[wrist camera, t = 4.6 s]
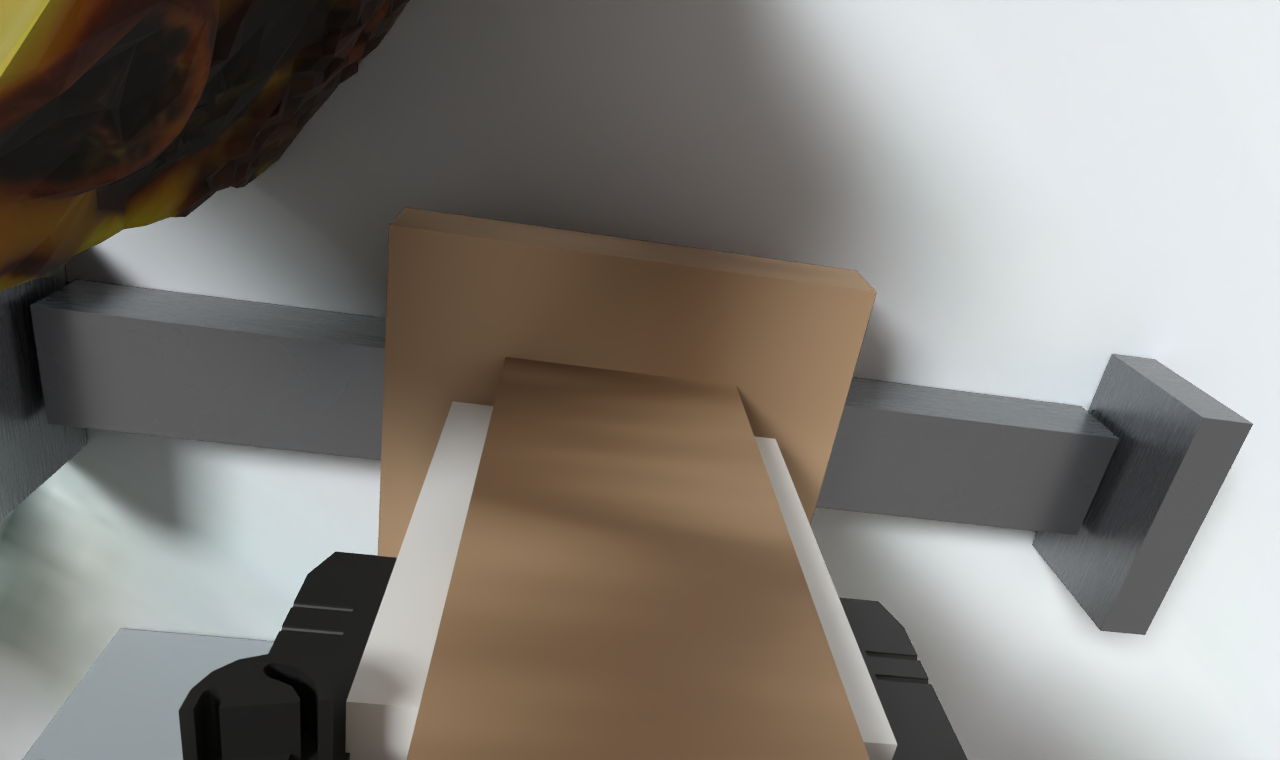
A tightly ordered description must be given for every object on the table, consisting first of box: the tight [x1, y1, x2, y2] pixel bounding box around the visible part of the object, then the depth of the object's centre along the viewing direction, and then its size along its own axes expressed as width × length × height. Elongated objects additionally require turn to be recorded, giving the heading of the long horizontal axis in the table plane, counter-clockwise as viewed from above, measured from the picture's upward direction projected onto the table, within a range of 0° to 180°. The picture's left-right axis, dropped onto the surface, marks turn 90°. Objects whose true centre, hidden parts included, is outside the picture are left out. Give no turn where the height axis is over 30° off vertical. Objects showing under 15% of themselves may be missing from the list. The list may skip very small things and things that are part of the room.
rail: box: [0, 266, 1253, 635], centre depth 17 cm, size 23×5×3 cm, turn 81°
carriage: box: [378, 207, 877, 760], centre depth 12 cm, size 8×8×13 cm
